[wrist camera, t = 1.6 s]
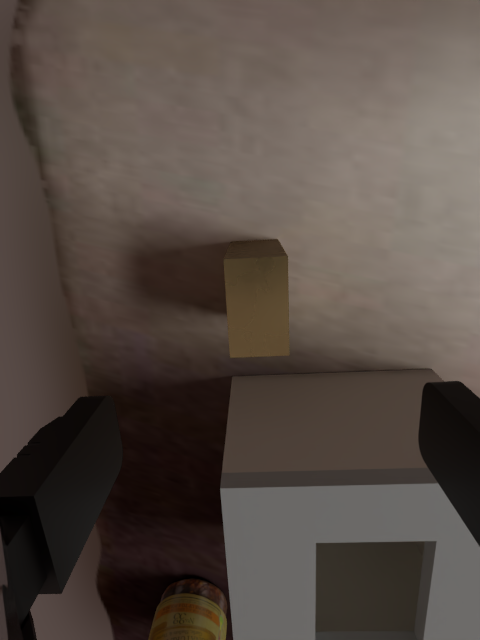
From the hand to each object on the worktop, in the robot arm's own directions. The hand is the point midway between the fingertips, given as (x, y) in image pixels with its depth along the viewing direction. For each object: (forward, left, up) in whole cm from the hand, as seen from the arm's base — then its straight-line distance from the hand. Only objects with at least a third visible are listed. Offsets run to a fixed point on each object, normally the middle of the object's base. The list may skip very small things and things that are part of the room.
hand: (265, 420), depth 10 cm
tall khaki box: (0, 0, -16) cm, 16 cm away
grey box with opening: (+14, +5, -16) cm, 22 cm away
